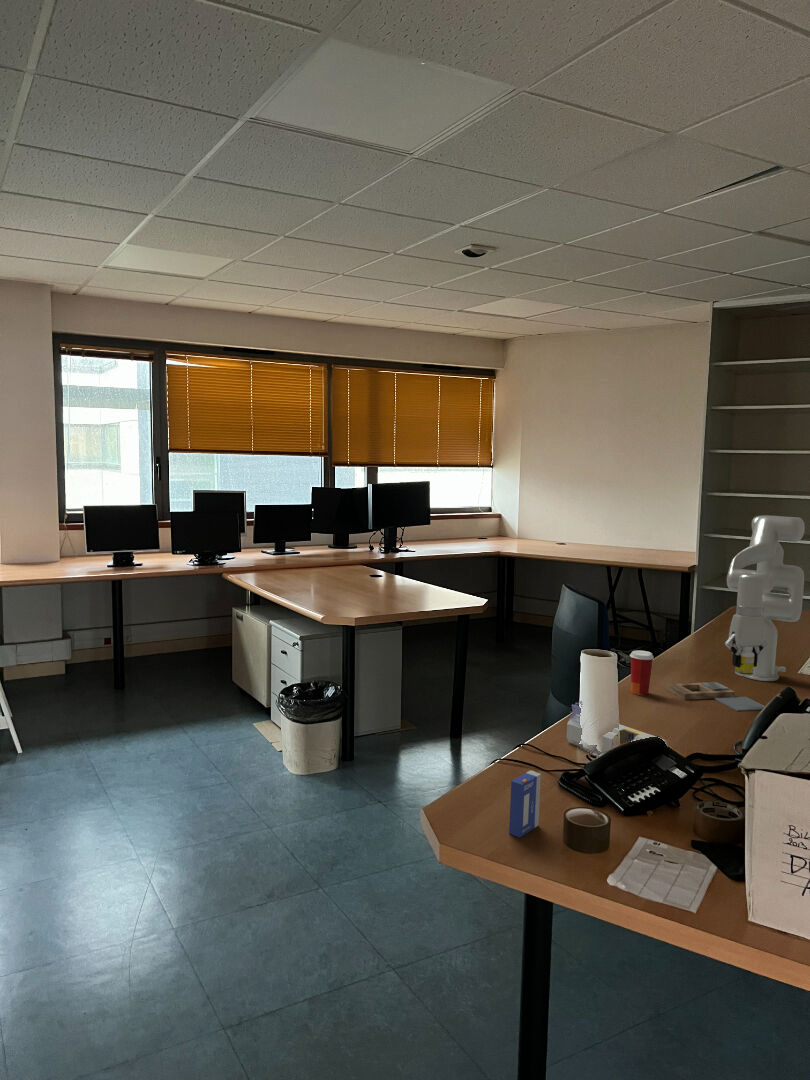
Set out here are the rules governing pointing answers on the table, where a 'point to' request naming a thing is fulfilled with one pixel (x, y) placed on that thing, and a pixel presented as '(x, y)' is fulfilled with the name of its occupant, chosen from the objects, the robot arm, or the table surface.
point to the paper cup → (640, 672)
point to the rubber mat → (740, 703)
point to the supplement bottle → (746, 662)
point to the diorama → (625, 735)
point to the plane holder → (700, 690)
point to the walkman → (524, 803)
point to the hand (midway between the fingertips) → (744, 665)
